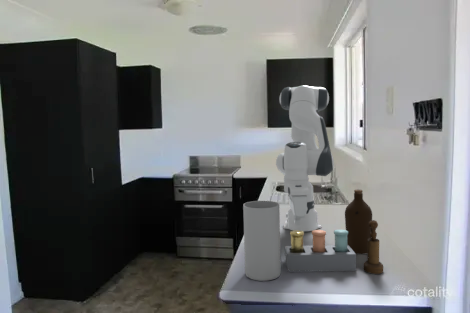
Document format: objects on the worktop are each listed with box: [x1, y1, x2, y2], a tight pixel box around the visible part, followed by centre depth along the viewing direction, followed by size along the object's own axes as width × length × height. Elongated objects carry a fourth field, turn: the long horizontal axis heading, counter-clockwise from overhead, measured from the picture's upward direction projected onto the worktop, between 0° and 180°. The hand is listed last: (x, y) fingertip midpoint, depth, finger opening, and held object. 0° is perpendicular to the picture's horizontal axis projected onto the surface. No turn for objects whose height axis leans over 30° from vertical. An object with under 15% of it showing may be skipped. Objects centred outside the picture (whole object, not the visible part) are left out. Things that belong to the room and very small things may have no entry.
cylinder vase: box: [242, 200, 282, 282], centre depth 129 cm, size 12×12×25 cm
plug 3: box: [333, 229, 348, 252], centre depth 135 cm, size 5×5×8 cm
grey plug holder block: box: [284, 244, 357, 272], centre depth 136 cm, size 10×24×6 cm, turn 88°
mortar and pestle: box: [362, 219, 384, 275], centre depth 129 cm, size 7×6×18 cm
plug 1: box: [289, 230, 305, 253], centre depth 135 cm, size 5×5×8 cm
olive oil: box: [344, 189, 373, 255], centre depth 150 cm, size 11×11×25 cm
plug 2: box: [311, 229, 327, 253], centre depth 135 cm, size 5×5×8 cm
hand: (297, 224), depth 135 cm, fingers closed
